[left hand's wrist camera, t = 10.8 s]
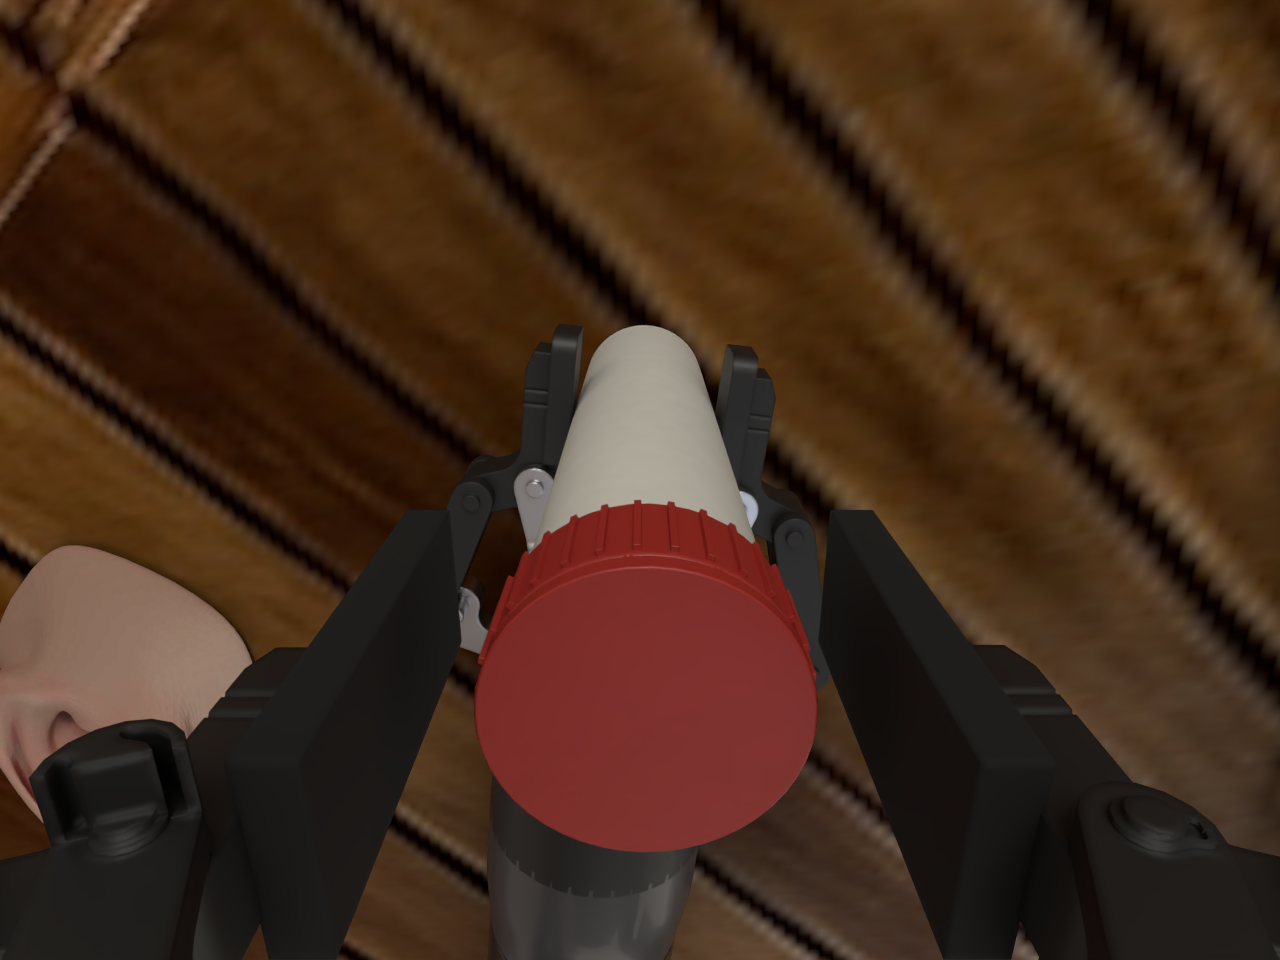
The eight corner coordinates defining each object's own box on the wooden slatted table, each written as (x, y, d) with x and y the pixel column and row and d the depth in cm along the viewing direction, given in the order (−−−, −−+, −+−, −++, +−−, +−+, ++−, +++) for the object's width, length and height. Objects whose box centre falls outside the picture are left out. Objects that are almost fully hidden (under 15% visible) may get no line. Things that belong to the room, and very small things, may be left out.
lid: (830, 706, 13) (865, 802, 11) (565, 787, 14) (552, 893, 12) (740, 452, 11) (761, 509, 9) (445, 556, 12) (405, 632, 10)
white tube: (716, 414, 29) (834, 772, 11) (611, 452, 30) (564, 851, 12) (678, 307, 28) (742, 520, 10) (569, 349, 29) (441, 624, 10)
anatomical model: (-92, 568, 27) (240, 645, 28) (-3, 523, 31) (287, 592, 32) (-76, 849, 32) (210, 907, 33) (0, 780, 35) (254, 834, 36)
